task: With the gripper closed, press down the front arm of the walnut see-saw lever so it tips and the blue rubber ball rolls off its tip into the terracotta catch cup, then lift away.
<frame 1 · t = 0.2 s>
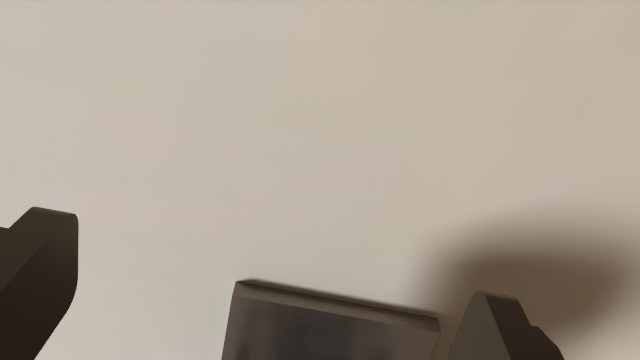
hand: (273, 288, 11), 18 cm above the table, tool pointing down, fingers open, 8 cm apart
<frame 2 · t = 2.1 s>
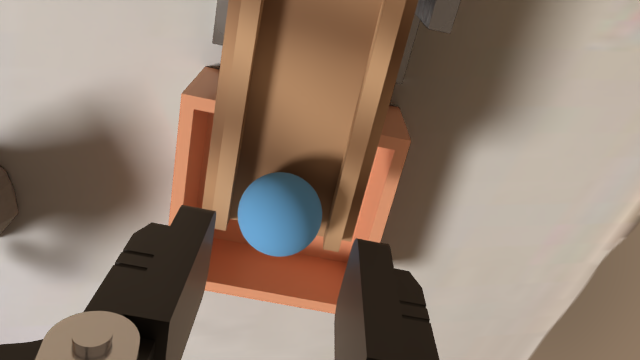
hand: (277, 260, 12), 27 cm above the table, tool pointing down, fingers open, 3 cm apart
lever: (321, 8, 22), point 14 cm above the table, hinge at 0.0°, touching ball
catch cup: (285, 174, 41), on the table
ball: (280, 214, 25), point 15 cm above the table, touching lever
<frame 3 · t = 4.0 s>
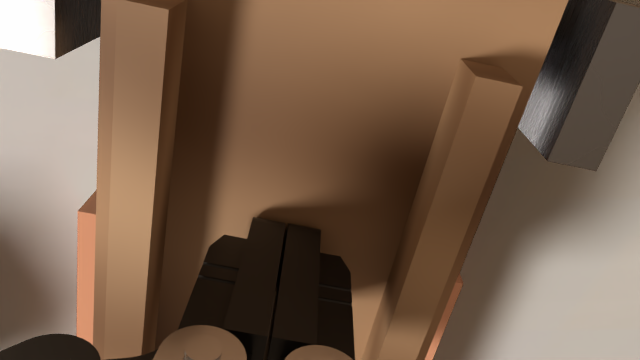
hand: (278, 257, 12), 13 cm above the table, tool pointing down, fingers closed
lever: (307, 131, 9), point 14 cm above the table, hinge at 0.3°, touching ball, gripper
catch cup: (265, 289, 28), on the table
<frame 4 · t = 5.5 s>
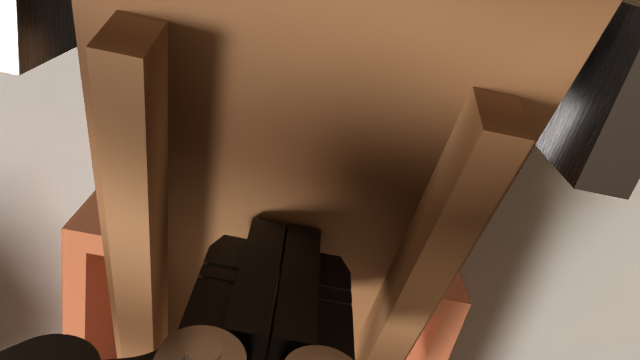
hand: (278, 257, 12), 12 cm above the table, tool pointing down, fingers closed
lever: (299, 173, 9), point 14 cm above the table, hinge at 16.2°, touching gripper
catch cup: (262, 303, 27), on the table
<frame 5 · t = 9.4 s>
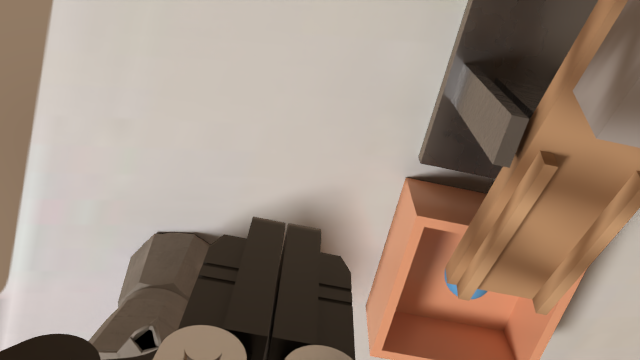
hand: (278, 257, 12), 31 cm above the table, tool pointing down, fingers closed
coffeepot: (178, 279, 50), on the table
lever: (587, 195, 30), point 13 cm above the table, hinge at 16.6°
catch cup: (459, 260, 49), on the table
lever stand: (524, 93, 42), on the table
ball: (468, 275, 46), point 3 cm above the table, tilted 172°, touching catch cup
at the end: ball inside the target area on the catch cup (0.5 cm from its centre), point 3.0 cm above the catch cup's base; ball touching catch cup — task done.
